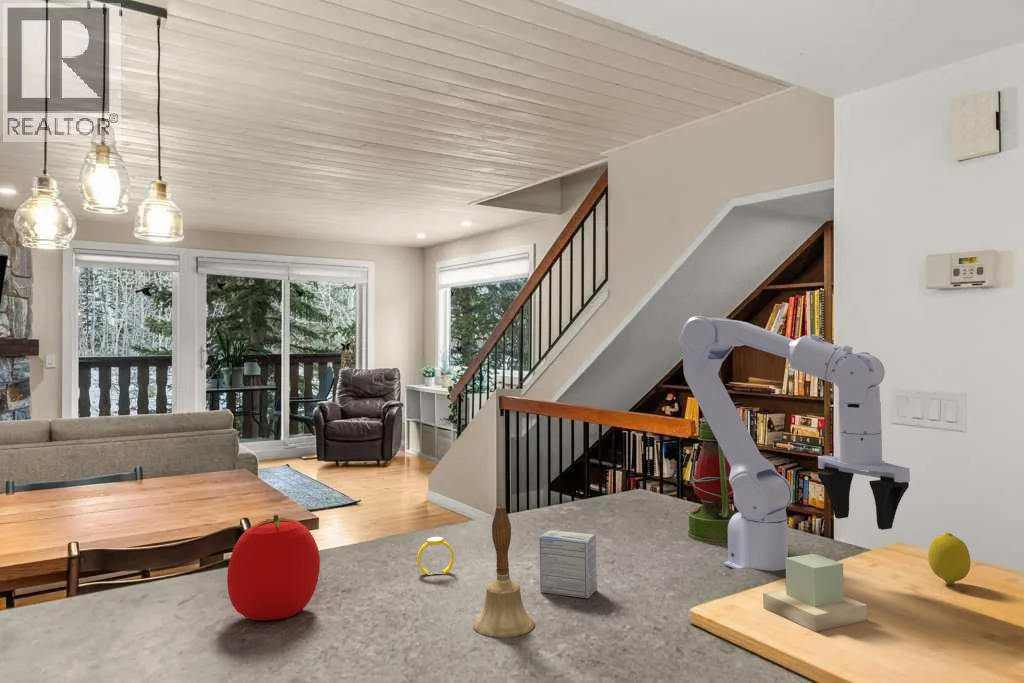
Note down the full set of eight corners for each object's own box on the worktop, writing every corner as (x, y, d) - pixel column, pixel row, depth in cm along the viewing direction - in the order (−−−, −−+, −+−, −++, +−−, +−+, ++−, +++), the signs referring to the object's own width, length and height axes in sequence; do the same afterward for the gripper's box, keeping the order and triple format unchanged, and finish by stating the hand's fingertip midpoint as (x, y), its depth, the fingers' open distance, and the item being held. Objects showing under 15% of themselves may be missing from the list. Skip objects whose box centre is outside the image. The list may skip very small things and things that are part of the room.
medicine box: (597, 590, 106) (596, 534, 106) (588, 600, 102) (587, 541, 102) (549, 584, 109) (549, 529, 110) (539, 593, 105) (538, 536, 106)
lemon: (977, 591, 104) (976, 537, 104) (937, 589, 105) (935, 536, 105) (961, 579, 109) (960, 528, 109) (923, 577, 110) (922, 527, 110)
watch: (419, 579, 113) (416, 543, 113) (418, 574, 116) (415, 539, 116) (455, 574, 114) (452, 538, 114) (453, 569, 117) (450, 534, 117)
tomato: (231, 638, 90) (230, 528, 90) (223, 609, 100) (223, 511, 100) (329, 619, 96) (328, 517, 96) (312, 595, 106) (311, 502, 106)
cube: (786, 595, 94) (785, 557, 94) (814, 590, 96) (813, 553, 96) (815, 607, 89) (814, 568, 89) (843, 601, 91) (843, 563, 91)
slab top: (763, 607, 95) (763, 593, 95) (812, 598, 98) (812, 583, 98) (815, 631, 86) (815, 615, 86) (867, 620, 90) (866, 604, 90)
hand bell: (513, 643, 87) (512, 516, 88) (460, 629, 92) (459, 509, 92) (545, 621, 94) (544, 503, 95) (495, 610, 99) (493, 497, 99)
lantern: (678, 528, 143) (675, 383, 144) (728, 527, 144) (725, 383, 144) (699, 547, 129) (697, 386, 130) (755, 545, 130) (752, 385, 130)
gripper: (923, 435, 99) (926, 530, 99) (839, 427, 113) (842, 510, 112) (888, 438, 96) (891, 536, 96) (807, 429, 110) (809, 515, 110)
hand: (862, 523), depth 104 cm, fingers open, 7 cm apart
